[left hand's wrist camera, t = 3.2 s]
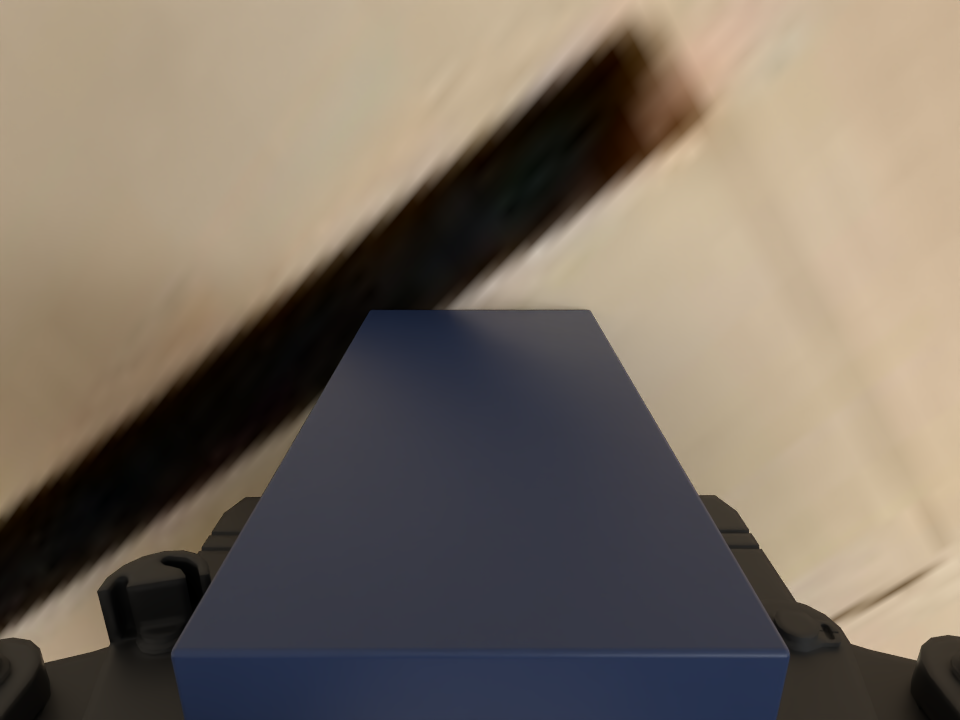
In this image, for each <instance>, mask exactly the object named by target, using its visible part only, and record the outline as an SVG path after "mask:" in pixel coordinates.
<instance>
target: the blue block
mask: <svg viewBox="0 0 960 720" xmlns="http://www.w3.org/2000/svg"><path fill="white" fill-rule="evenodd" d="M789 659H790V652H789V649H788V647H787V646H786V644H785V642H784V640H783V639H782V637H781V635H780V634H779V632H778V630H777V629H776V627H775V625H774V623H773V622H772V620H771V618H770V617H769V615H768V613H767V611H766V610H765V608H764V606H763V605H762V603H761V601H760V599H759V598H758V596H757V594H756V593H755V591H754V589H753V588H752V586H751V584H750V582H749V581H748V579H747V577H746V576H745V574H744V572H743V570H742V569H741V567H740V565H739V564H738V562H737V560H736V559H735V557H734V555H733V553H732V552H731V550H730V548H729V547H728V545H727V543H726V541H725V540H724V538H723V536H722V535H721V533H720V531H719V529H718V528H717V526H716V524H715V523H714V521H713V519H712V518H711V516H710V514H709V512H708V511H707V509H706V507H705V506H704V504H703V502H702V500H701V499H700V497H699V495H698V494H697V492H696V490H695V489H694V487H693V485H692V483H691V482H690V480H689V478H688V477H687V475H686V473H685V471H684V470H683V468H682V466H681V465H680V463H679V461H678V459H677V458H676V456H675V454H674V453H673V451H672V449H671V448H670V446H669V444H668V442H667V441H666V439H665V437H664V436H663V434H662V432H661V430H660V429H659V427H658V425H657V424H656V422H655V420H654V419H653V417H652V415H651V413H650V412H649V410H648V408H647V407H646V405H645V403H644V401H643V400H642V398H641V396H640V395H639V393H638V391H637V389H636V388H635V386H634V384H633V383H632V381H631V379H630V378H629V376H628V374H627V372H626V371H625V369H624V367H623V366H622V364H621V362H620V360H619V359H618V357H617V355H616V354H615V352H614V350H613V349H612V347H611V345H610V343H609V342H608V340H607V338H606V337H605V335H604V333H603V331H602V330H601V328H600V326H599V325H598V323H597V321H596V319H595V318H594V316H593V314H592V313H591V311H590V310H371V311H369V313H368V315H367V317H366V318H365V320H364V322H363V323H362V325H361V327H360V329H359V330H358V332H357V334H356V335H355V337H354V339H353V341H352V342H351V344H350V346H349V347H348V349H347V351H346V353H345V354H344V356H343V358H342V359H341V361H340V363H339V365H338V366H337V368H336V370H335V371H334V373H333V375H332V377H331V378H330V380H329V382H328V383H327V385H326V387H325V389H324V390H323V392H322V394H321V395H320V397H319V399H318V401H317V402H316V404H315V406H314V407H313V409H312V411H311V413H310V414H309V416H308V418H307V419H306V421H305V423H304V424H303V426H302V428H301V430H300V431H299V433H298V435H297V436H296V438H295V440H294V442H293V443H292V445H291V447H290V448H289V450H288V452H287V454H286V455H285V457H284V459H283V460H282V462H281V464H280V466H279V467H278V469H277V471H276V472H275V474H274V476H273V478H272V479H271V481H270V483H269V484H268V486H267V488H266V490H265V491H264V493H263V495H262V496H261V498H260V500H259V502H258V503H257V505H256V507H255V508H254V510H253V512H252V514H251V515H250V517H249V519H248V520H247V522H246V524H245V526H244V527H243V529H242V531H241V532H240V534H239V536H238V538H237V539H236V541H235V543H234V544H233V546H232V548H231V550H230V551H229V553H228V555H227V556H226V558H225V560H224V561H223V563H222V565H221V567H220V568H219V570H218V572H217V573H216V575H215V577H214V579H213V580H212V582H211V584H210V585H209V587H208V589H207V591H206V592H205V594H204V596H203V597H202V599H201V601H200V603H199V604H198V606H197V608H196V609H195V611H194V613H193V615H192V616H191V618H190V620H189V621H188V623H187V625H186V627H185V628H184V630H183V632H182V633H181V635H180V637H179V639H178V640H177V642H176V644H175V645H174V647H173V649H172V652H171V660H172V664H173V669H174V673H175V678H176V683H177V687H178V692H179V697H180V701H181V706H182V711H183V715H184V720H776V719H777V715H778V710H779V705H780V701H781V696H782V691H783V687H784V682H785V678H786V673H787V668H788V664H789Z"/></svg>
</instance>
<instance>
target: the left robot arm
mask: <svg viewBox="0 0 960 720" xmlns="http://www.w3.org/2000/svg"><path fill="white" fill-rule="evenodd" d="M699 497H700V499H701V500H702V502H703V504H704V506H705V507H706V509H707V511H708V512H709V514H710V516H711V518H712V519H713V521H714V523H715V524H716V526H717V528H718V529H719V531H720V533H721V535H722V536H723V538H724V540H725V541H726V543H727V545H728V547H729V548H730V550H731V552H732V553H733V555H734V557H735V559H736V560H737V562H738V564H739V565H740V567H741V569H742V570H743V572H744V574H745V576H746V577H747V579H748V581H749V582H750V584H751V586H752V588H753V589H754V591H755V593H756V594H757V596H758V598H759V599H760V601H761V603H762V605H763V606H764V608H765V610H766V611H767V613H768V615H769V617H770V618H771V620H772V622H773V623H774V625H775V627H776V629H777V630H778V632H779V634H780V635H781V637H782V639H783V640H784V642H785V644H786V646H787V647H788V649H789V652H790V659H789V664H788V668H787V673H786V678H785V682H784V687H783V691H782V696H781V701H780V705H779V710H778V715H777V719H776V720H960V637H958V636H951V635H946V636H939V637H933V638H930V639H929V640H928V641H927V642H926V643H924V644H923V645H922V646H921V649H920V653H919V656H918V659H917V661H916V660H912V659H907V658H903V657H899V656H895V655H890V654H886V653H882V652H877V651H873V650H869V649H866V648H862V647H859V646H856V645H853V644H850V642H849V640H848V639H847V637H846V636H845V634H844V632H843V631H842V629H841V628H840V627H839V626H838V625H837V624H836V623H834V622H833V621H832V620H831V619H830V618H828V617H827V616H826V615H825V614H823V613H821V612H819V611H817V610H815V609H813V608H811V607H809V606H807V605H805V604H801V603H798V602H796V601H795V599H794V598H793V596H792V594H791V593H790V591H789V590H788V588H787V587H786V585H785V584H784V582H783V581H782V579H781V578H780V576H779V575H778V573H777V572H776V570H775V569H774V567H773V566H772V564H771V563H770V561H769V560H768V558H767V557H766V555H765V553H764V552H763V550H762V549H759V544H758V543H757V541H756V540H755V538H754V537H753V535H752V534H751V533H749V529H748V528H747V526H746V525H745V523H744V522H743V520H742V519H741V517H740V516H739V514H738V512H737V511H736V510H734V509H733V508H732V507H730V506H729V505H727V504H726V503H725V502H723V501H722V500H721V499H719V498H718V497H717V496H715V495H699ZM260 498H261V497H245V498H244V499H243V500H241V501H240V502H239V503H237V504H236V505H235V506H233V507H232V508H230V509H229V510H228V511H226V512H225V513H224V514H223V516H222V517H221V519H220V520H219V522H218V523H217V525H216V526H215V528H214V529H213V531H212V535H211V536H209V537H208V539H207V540H206V542H205V543H204V545H203V546H202V551H199V552H198V554H195V553H192V552H188V551H184V550H183V551H163V552H159V553H155V554H151V555H147V556H143V557H141V558H139V559H137V560H135V561H132V562H130V563H128V564H126V565H124V566H122V567H121V568H120V569H118V570H117V571H116V572H114V573H113V574H112V575H110V576H109V577H108V578H107V579H106V580H105V581H104V583H103V584H102V586H101V587H100V588H99V590H98V591H97V593H98V596H99V600H100V604H101V608H102V612H103V616H104V620H105V624H106V628H107V632H108V636H109V640H110V645H109V647H107V648H103V649H100V650H97V651H94V652H90V653H86V654H81V655H77V656H73V657H68V658H64V659H60V660H56V661H51V662H47V663H44V661H43V657H42V654H41V651H40V648H39V647H37V646H36V645H35V644H34V643H33V642H32V641H30V640H25V639H19V638H7V639H0V720H184V715H183V711H182V706H181V701H180V697H179V692H178V687H177V683H176V678H175V673H174V669H173V664H172V660H171V652H172V649H173V647H174V645H175V644H176V642H177V640H178V639H179V637H180V635H181V633H182V632H183V630H184V628H185V627H186V625H187V623H188V621H189V620H190V618H191V616H192V615H193V613H194V611H195V609H196V608H197V606H198V604H199V603H200V601H201V599H202V597H203V596H204V594H205V592H206V591H207V589H208V587H209V585H210V584H211V582H212V580H213V579H214V577H215V575H216V573H217V572H218V570H219V568H220V567H221V565H222V563H223V561H224V560H225V558H226V556H227V555H228V553H229V551H230V550H231V548H232V546H233V544H234V543H235V541H236V539H237V538H238V536H239V534H240V532H241V531H242V529H243V527H244V526H245V524H246V522H247V520H248V519H249V517H250V515H251V514H252V512H253V510H254V508H255V507H256V505H257V503H258V502H259V500H260Z"/></svg>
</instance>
